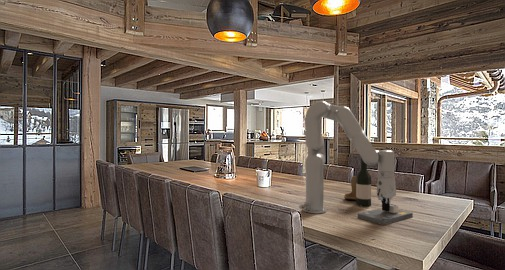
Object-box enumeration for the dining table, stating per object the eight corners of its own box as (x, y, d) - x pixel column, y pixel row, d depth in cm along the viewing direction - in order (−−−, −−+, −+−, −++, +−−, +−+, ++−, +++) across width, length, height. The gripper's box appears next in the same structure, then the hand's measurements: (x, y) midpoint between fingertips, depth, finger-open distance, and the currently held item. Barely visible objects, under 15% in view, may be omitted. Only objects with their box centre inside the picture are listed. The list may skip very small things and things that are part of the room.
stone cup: (368, 198, 193) (369, 175, 193) (370, 202, 181) (370, 178, 181) (344, 196, 197) (344, 174, 197) (344, 200, 186) (344, 176, 186)
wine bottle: (361, 207, 171) (362, 154, 170) (353, 203, 179) (353, 153, 178) (374, 206, 173) (374, 154, 173) (365, 202, 181) (365, 153, 181)
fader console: (383, 225, 138) (383, 220, 138) (357, 217, 150) (357, 213, 150) (412, 216, 152) (412, 212, 152) (387, 210, 164) (387, 206, 164)
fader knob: (393, 213, 150) (393, 205, 149) (382, 210, 155) (382, 203, 155) (398, 212, 152) (398, 204, 152) (387, 209, 157) (387, 202, 157)
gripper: (383, 176, 143) (383, 214, 144) (401, 174, 151) (401, 210, 152) (370, 174, 150) (370, 211, 150) (388, 172, 158) (387, 207, 158)
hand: (385, 210), depth 151 cm, fingers closed
